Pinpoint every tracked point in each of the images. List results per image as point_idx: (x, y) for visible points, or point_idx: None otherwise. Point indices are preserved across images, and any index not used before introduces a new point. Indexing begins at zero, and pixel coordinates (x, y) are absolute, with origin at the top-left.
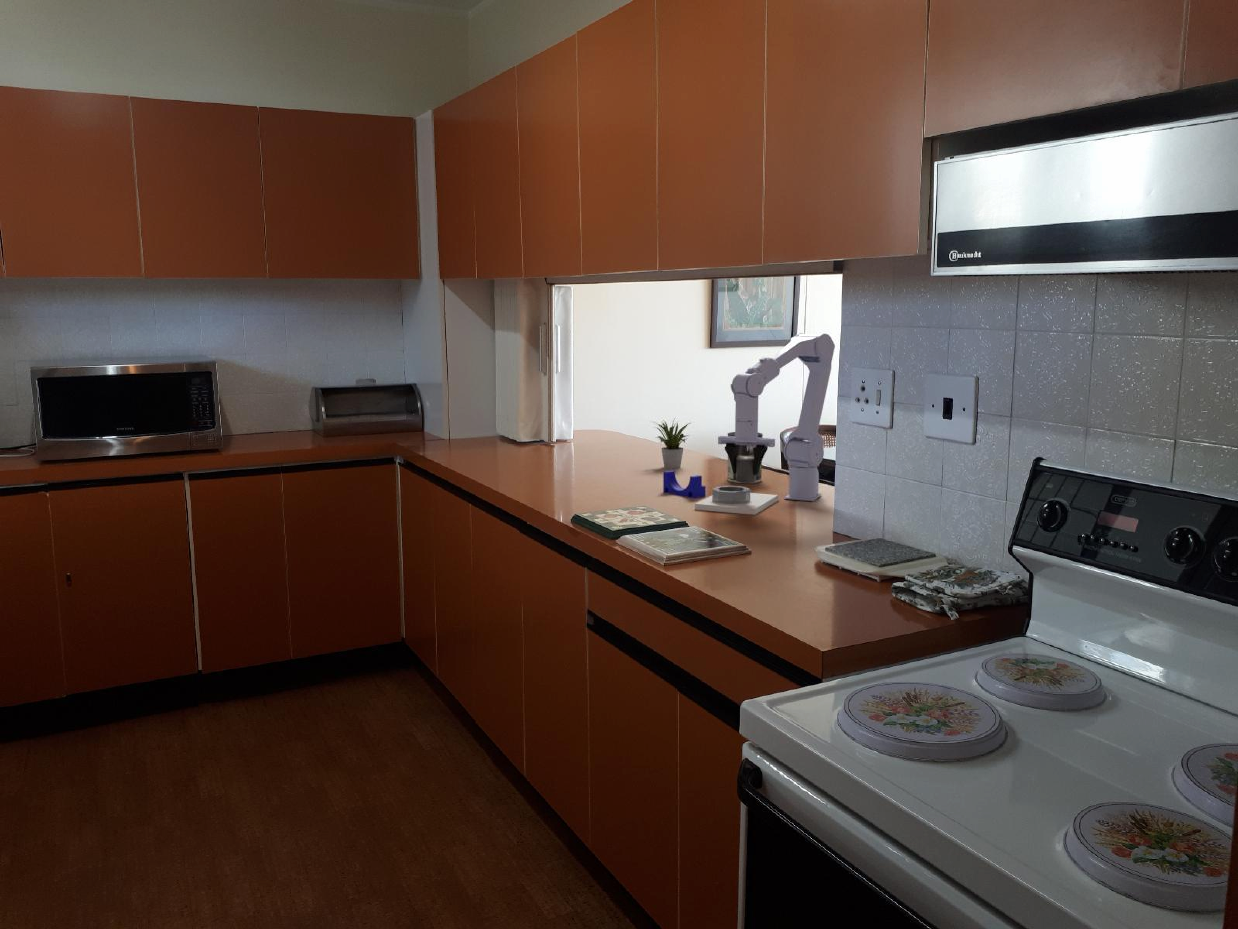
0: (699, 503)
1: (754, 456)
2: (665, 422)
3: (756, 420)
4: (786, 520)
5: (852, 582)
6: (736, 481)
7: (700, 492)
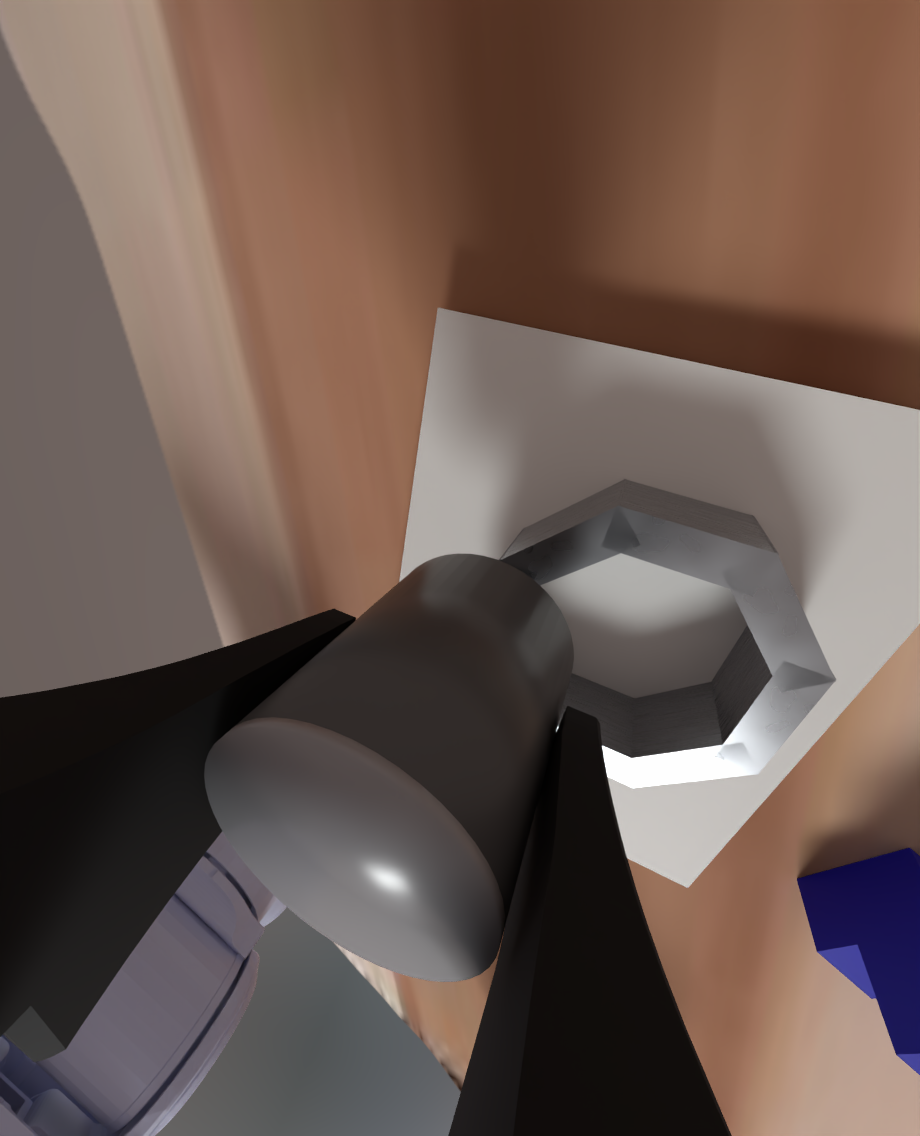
0: None
1: (116, 732)
2: None
3: None
4: (247, 171)
5: None
6: None
7: (854, 897)
